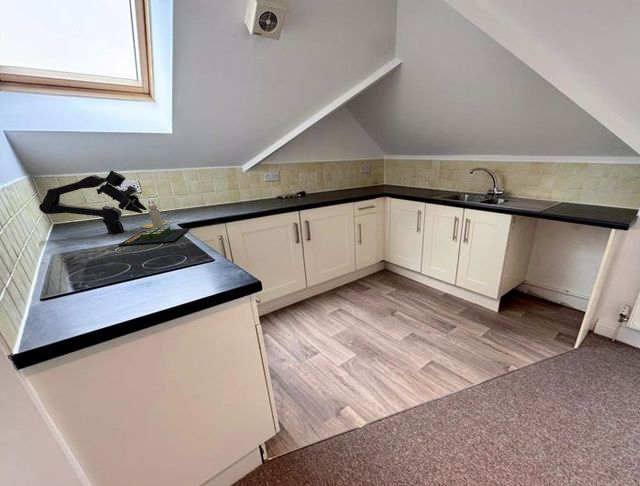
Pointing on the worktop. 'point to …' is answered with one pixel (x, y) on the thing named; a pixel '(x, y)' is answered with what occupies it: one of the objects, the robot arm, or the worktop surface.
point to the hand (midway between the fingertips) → (144, 211)
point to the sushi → (155, 236)
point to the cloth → (150, 225)
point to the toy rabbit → (155, 215)
